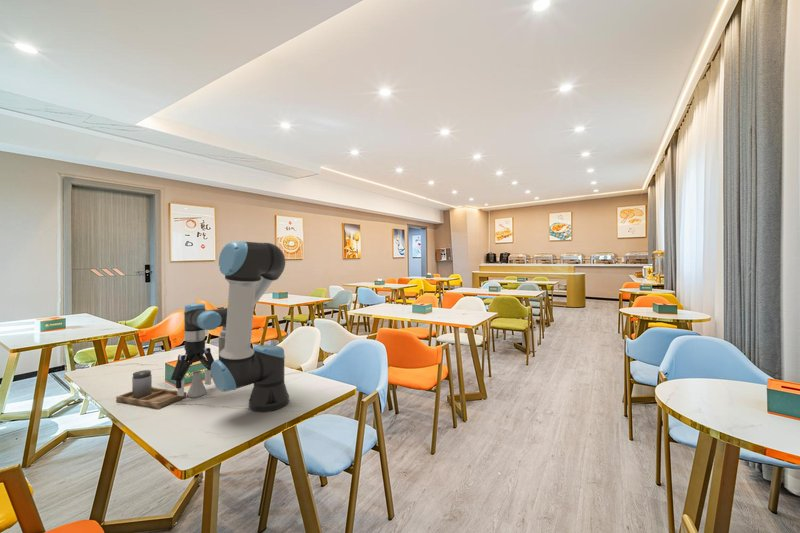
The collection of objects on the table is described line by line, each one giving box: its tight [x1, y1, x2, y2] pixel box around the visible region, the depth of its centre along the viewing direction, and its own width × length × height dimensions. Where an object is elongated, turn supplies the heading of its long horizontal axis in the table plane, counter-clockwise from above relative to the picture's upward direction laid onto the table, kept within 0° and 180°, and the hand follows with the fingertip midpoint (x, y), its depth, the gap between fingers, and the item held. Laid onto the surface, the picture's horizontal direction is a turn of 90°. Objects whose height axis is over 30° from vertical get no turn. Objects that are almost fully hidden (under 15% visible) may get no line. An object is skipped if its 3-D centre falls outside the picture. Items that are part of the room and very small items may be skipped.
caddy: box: [115, 386, 187, 410], centre depth 139 cm, size 23×12×2 cm, turn 73°
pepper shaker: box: [131, 369, 153, 399], centre depth 140 cm, size 6×6×10 cm
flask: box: [186, 370, 208, 399], centre depth 144 cm, size 7×7×10 cm
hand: (194, 389), depth 143 cm, fingers open, 12 cm apart
